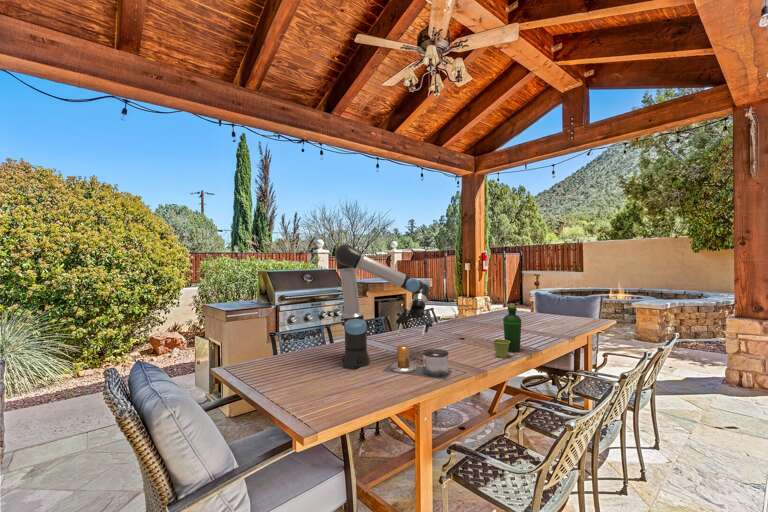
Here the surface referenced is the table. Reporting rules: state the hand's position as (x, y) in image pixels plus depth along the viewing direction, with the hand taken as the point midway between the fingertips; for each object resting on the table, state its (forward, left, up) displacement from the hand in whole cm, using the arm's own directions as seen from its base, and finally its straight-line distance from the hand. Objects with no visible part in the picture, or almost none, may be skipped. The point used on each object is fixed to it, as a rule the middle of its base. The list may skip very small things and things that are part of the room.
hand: (410, 335), depth 183 cm
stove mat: (+6, -10, -16) cm, 20 cm away
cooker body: (+16, -10, -15) cm, 24 cm away
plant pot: (+42, +35, -16) cm, 57 cm away
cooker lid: (-1, -10, -15) cm, 18 cm away
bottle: (+47, +50, -16) cm, 71 cm away
